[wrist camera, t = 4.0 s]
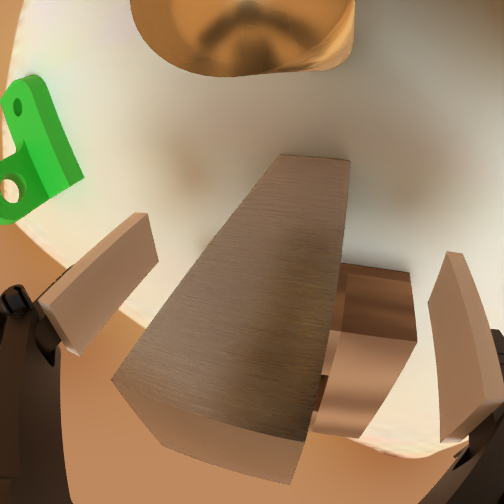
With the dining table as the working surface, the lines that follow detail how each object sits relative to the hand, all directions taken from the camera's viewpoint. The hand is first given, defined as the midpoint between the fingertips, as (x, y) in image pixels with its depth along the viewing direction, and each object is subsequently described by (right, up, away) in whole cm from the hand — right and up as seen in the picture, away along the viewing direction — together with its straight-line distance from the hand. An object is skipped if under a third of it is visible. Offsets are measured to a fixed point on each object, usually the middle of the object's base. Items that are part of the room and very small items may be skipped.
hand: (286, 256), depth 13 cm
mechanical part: (-20, +11, +9) cm, 25 cm away
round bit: (+2, +11, 0) cm, 11 cm away
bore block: (+3, -6, +12) cm, 14 cm away
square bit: (+2, +4, +5) cm, 7 cm away
